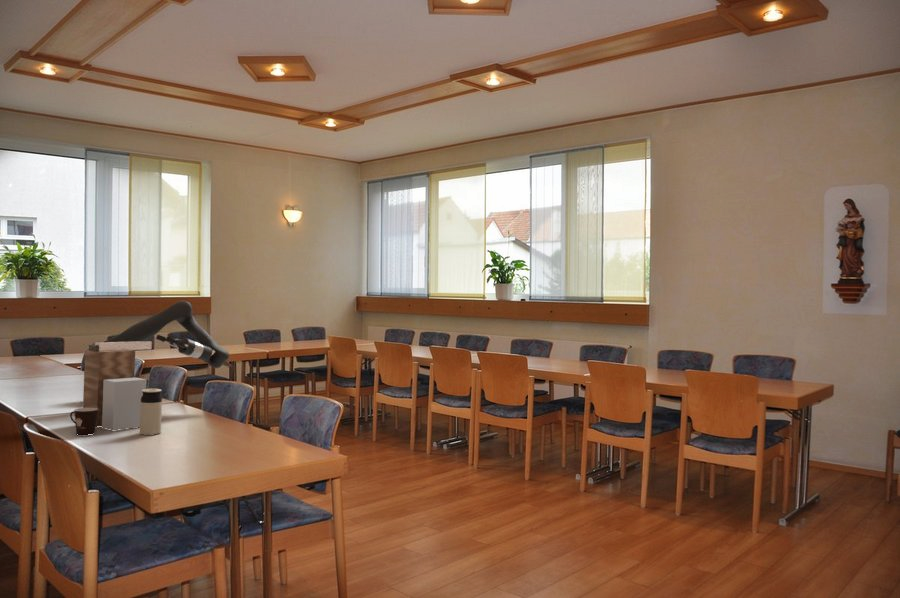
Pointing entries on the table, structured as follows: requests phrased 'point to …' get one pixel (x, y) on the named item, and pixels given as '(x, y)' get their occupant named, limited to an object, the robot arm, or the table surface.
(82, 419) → the coffee mug
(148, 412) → the travel mug
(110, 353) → the walnut stand
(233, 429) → the table surface
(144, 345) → the light wooden bar
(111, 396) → the grey block
